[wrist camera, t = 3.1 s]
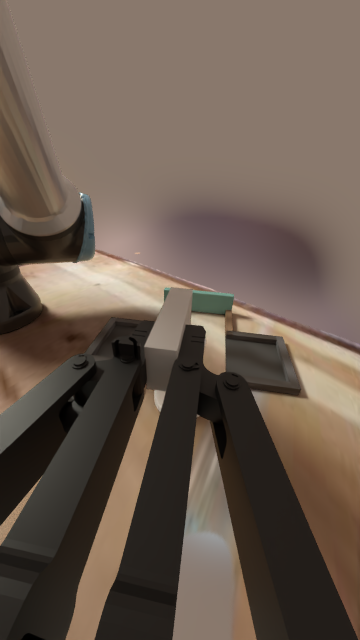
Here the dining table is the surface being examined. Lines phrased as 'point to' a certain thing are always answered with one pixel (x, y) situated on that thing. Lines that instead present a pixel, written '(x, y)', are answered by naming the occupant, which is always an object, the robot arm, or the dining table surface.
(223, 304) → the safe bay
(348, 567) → the dining table surface
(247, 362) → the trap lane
